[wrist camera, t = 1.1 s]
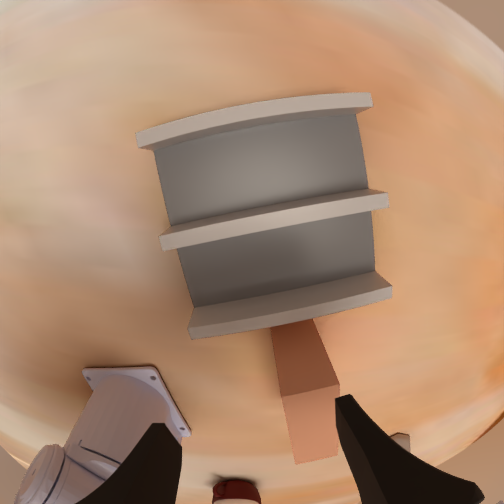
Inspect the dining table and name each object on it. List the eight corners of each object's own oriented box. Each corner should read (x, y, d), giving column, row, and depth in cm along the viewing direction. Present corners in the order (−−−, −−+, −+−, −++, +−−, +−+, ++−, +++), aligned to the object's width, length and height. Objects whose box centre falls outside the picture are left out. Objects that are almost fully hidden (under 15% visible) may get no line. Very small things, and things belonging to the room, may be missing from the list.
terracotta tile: (318, 392, 21) (337, 455, 15) (284, 399, 21) (295, 464, 15) (311, 317, 19) (339, 383, 12) (270, 326, 19) (281, 396, 12)
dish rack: (369, 276, 18) (391, 297, 15) (199, 310, 19) (191, 339, 15) (347, 105, 15) (370, 92, 11) (156, 139, 15) (135, 133, 12)
